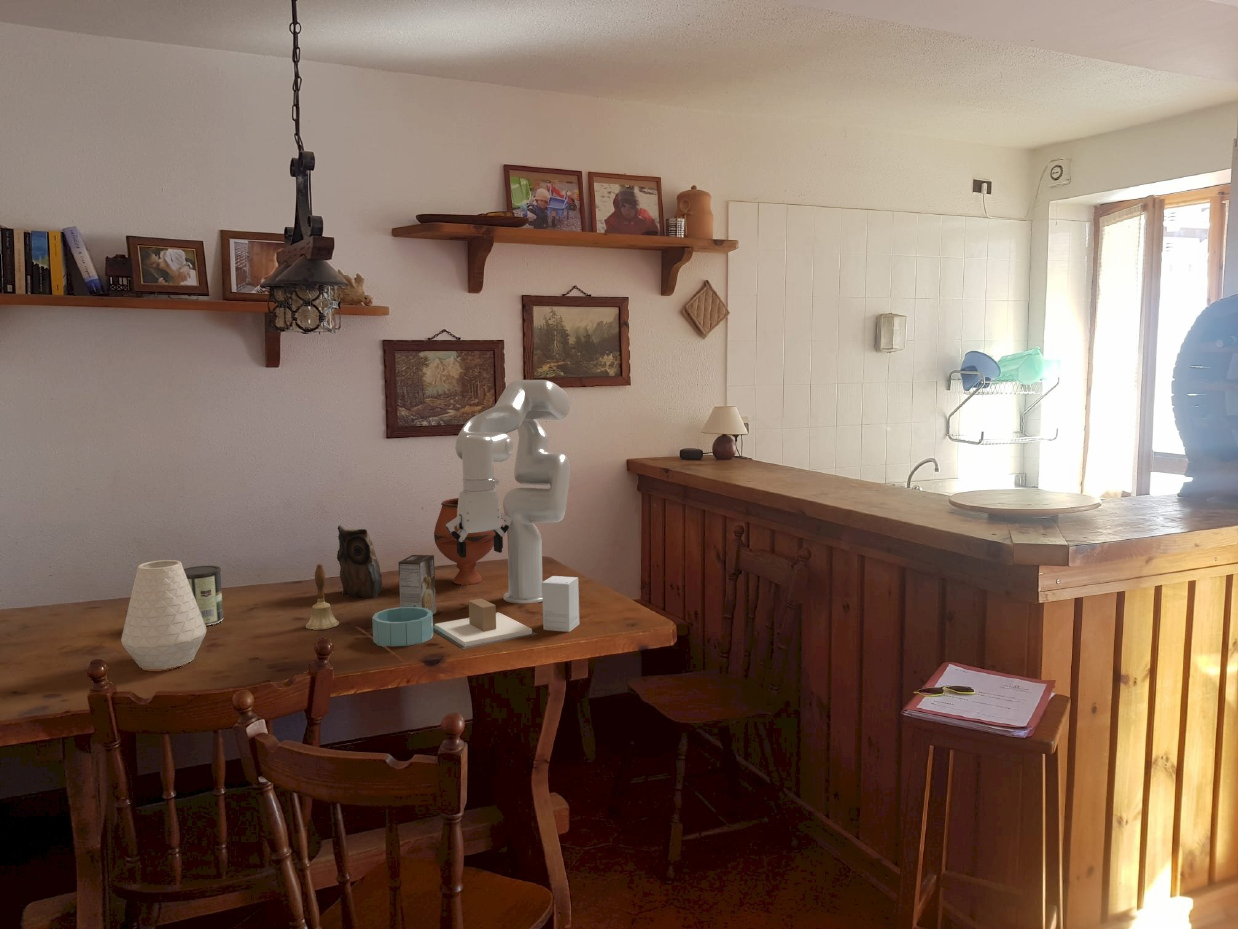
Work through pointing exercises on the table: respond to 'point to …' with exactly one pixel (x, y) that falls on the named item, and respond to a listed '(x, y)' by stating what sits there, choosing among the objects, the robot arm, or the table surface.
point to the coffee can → (207, 591)
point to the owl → (358, 564)
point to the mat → (478, 644)
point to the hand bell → (321, 606)
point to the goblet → (475, 544)
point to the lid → (482, 625)
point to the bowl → (402, 626)
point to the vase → (162, 617)
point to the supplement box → (560, 603)
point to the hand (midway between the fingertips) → (480, 554)
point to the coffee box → (417, 582)
